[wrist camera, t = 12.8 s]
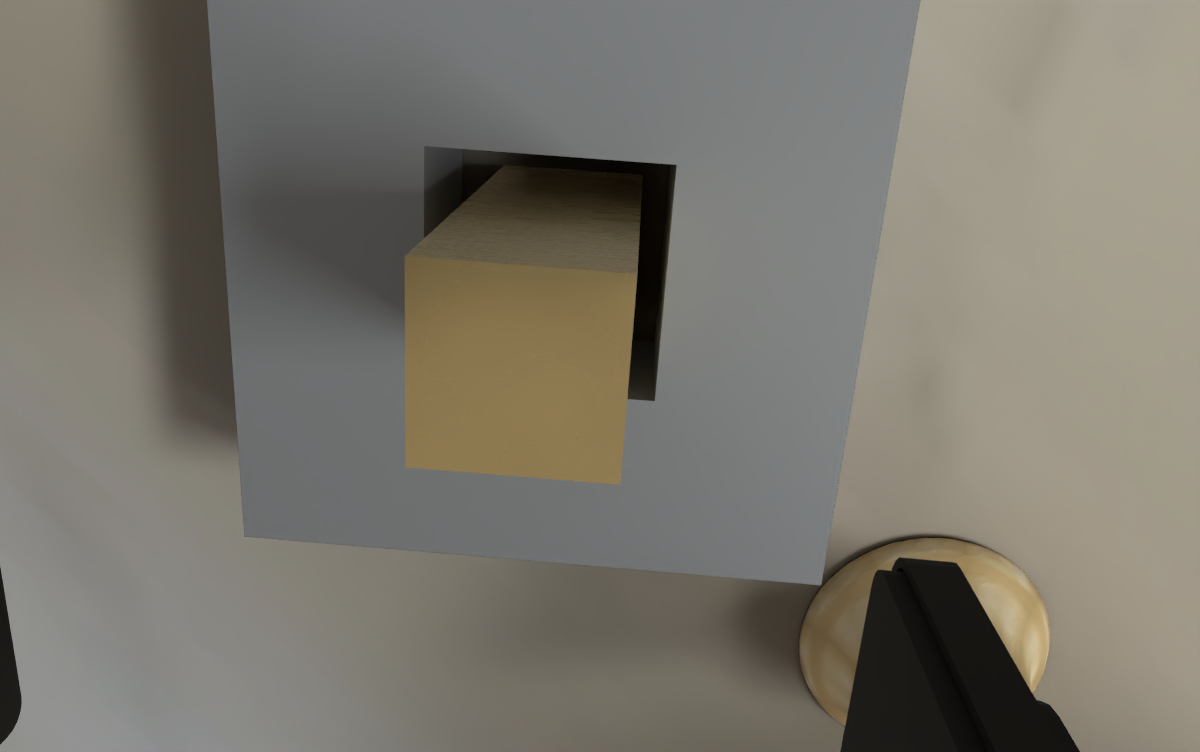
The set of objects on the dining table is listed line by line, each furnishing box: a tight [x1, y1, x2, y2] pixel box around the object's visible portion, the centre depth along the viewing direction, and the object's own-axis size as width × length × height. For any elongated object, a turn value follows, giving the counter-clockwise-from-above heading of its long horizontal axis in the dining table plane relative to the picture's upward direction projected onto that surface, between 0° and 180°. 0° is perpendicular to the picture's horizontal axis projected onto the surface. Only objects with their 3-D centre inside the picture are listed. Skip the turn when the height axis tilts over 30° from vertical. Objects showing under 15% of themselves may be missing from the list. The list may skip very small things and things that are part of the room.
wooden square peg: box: [405, 165, 642, 485], centre depth 23 cm, size 4×4×12 cm
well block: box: [207, 0, 920, 585], centre depth 26 cm, size 16×16×5 cm
